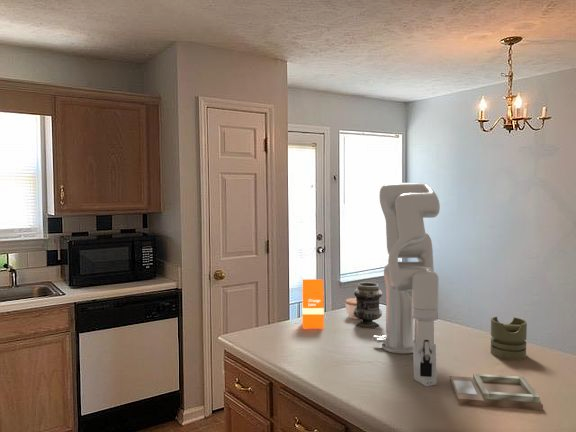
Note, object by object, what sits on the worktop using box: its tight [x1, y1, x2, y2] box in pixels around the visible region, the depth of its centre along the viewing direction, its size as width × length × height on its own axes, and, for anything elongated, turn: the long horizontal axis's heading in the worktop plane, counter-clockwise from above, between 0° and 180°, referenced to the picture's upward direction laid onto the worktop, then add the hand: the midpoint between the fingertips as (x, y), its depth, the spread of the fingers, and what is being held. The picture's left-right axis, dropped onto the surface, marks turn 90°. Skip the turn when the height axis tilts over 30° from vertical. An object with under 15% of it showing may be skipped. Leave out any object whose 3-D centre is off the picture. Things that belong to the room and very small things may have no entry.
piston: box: [490, 316, 528, 361], centre depth 167 cm, size 11×12×11 cm
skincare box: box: [412, 339, 438, 387], centre depth 143 cm, size 6×4×12 cm
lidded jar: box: [344, 296, 360, 320], centre depth 217 cm, size 11×11×9 cm
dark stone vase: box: [353, 281, 383, 330], centre depth 203 cm, size 12×12×18 cm
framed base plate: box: [449, 373, 544, 411], centre depth 134 cm, size 21×16×3 cm
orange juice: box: [301, 278, 325, 329], centre depth 204 cm, size 8×9×20 cm
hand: (424, 370), depth 143 cm, fingers open, 8 cm apart
